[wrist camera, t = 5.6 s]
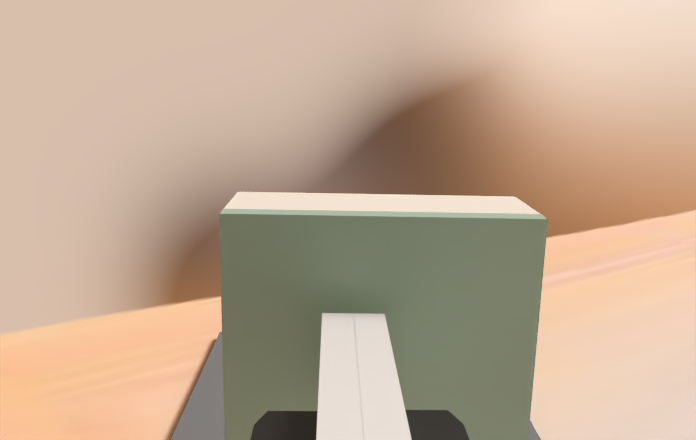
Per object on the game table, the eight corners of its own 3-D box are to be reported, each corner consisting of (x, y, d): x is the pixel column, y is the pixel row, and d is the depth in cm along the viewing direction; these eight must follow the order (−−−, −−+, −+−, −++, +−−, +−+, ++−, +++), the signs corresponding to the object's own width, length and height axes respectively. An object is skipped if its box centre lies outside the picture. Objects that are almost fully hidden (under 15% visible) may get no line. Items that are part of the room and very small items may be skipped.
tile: (510, 629, 18) (547, 219, 16) (229, 628, 18) (219, 213, 16) (486, 553, 21) (514, 196, 19) (244, 551, 21) (238, 191, 19)
